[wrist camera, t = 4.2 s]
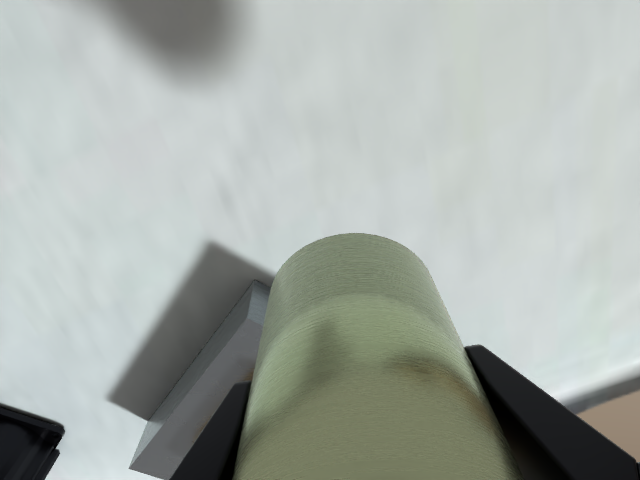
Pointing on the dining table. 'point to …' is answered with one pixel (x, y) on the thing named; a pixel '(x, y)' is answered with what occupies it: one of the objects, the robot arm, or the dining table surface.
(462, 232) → the dining table surface
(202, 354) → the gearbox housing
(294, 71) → the dining table surface
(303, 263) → the spout can
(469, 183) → the dining table surface
